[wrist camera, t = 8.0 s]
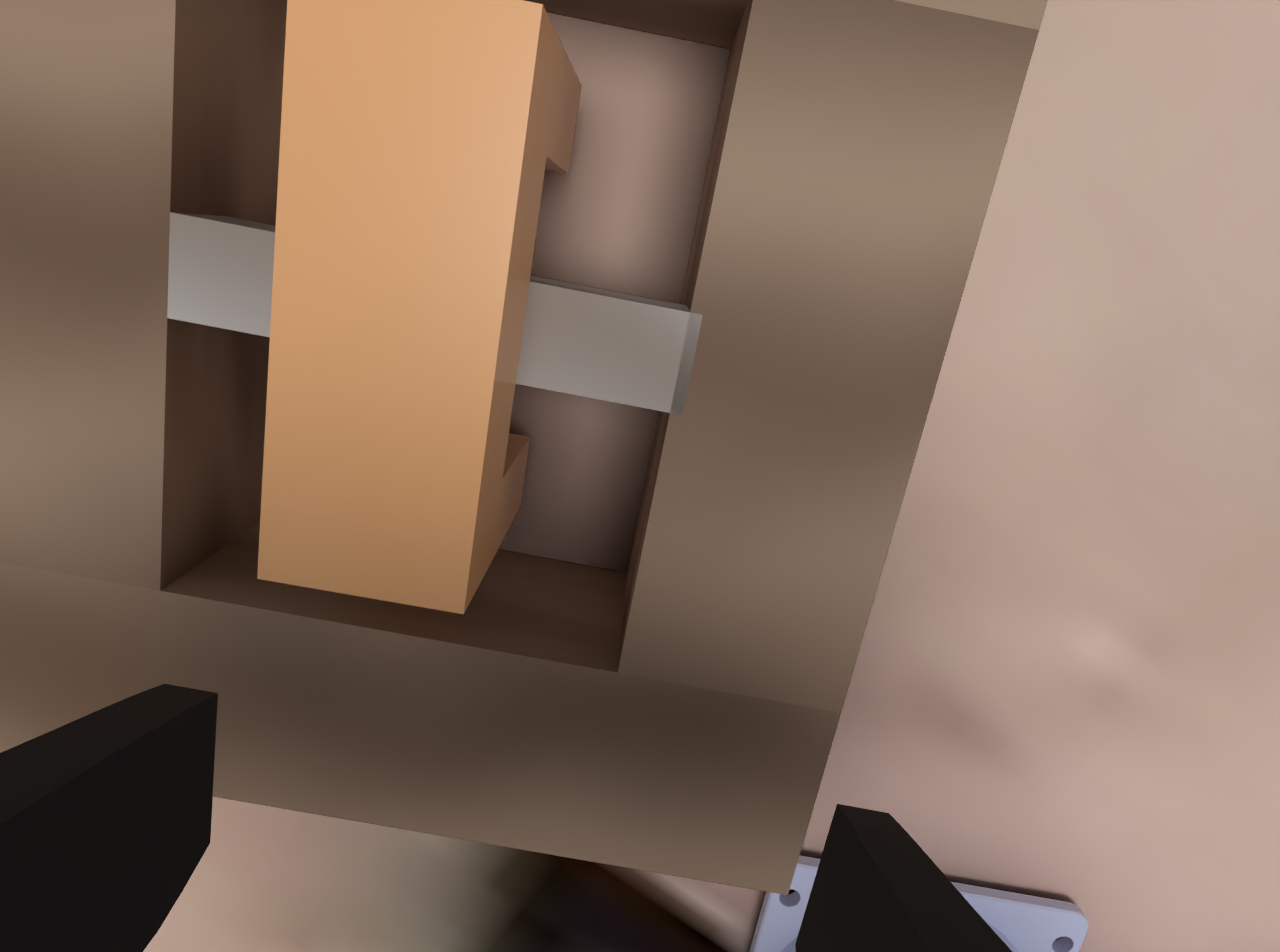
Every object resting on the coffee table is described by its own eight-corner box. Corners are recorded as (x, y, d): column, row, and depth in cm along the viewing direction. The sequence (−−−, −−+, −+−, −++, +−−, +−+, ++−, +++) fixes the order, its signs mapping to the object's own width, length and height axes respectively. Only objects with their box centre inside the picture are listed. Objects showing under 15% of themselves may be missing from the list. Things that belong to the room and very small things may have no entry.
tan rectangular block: (519, 507, 17) (463, 614, 12) (374, 481, 16) (256, 578, 12) (581, 85, 14) (542, 4, 10) (413, 53, 14) (289, -45, 9)
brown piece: (759, 752, 20) (788, 895, 15) (99, 636, 19) (-63, 749, 15) (997, -150, 15) (1139, -318, 10) (103, -339, 14) (-143, -598, 10)
